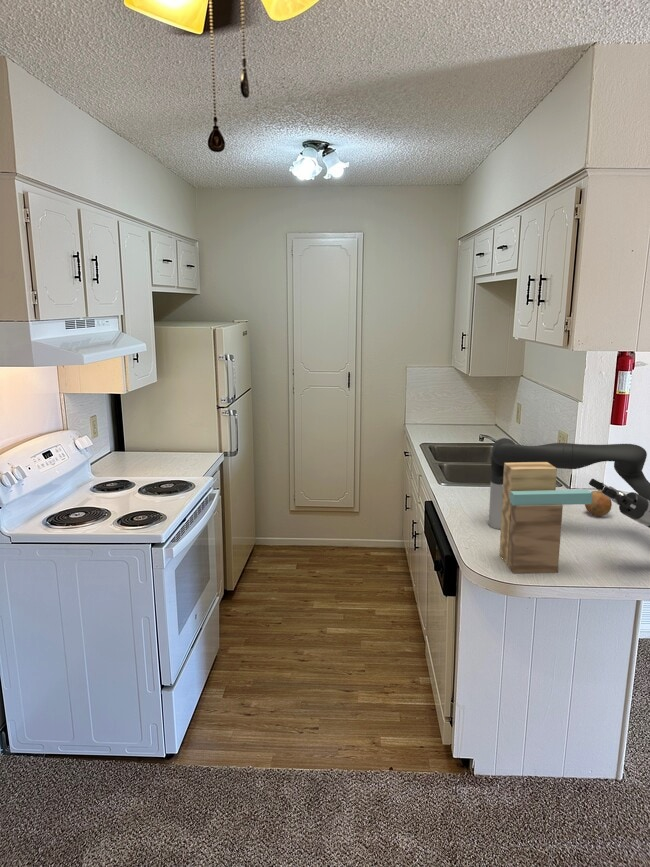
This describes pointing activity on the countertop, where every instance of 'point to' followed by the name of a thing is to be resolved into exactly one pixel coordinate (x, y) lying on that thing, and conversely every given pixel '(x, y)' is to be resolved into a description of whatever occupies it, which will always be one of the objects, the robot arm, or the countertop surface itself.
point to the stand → (522, 479)
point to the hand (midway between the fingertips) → (597, 485)
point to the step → (535, 538)
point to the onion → (599, 504)
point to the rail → (550, 497)
